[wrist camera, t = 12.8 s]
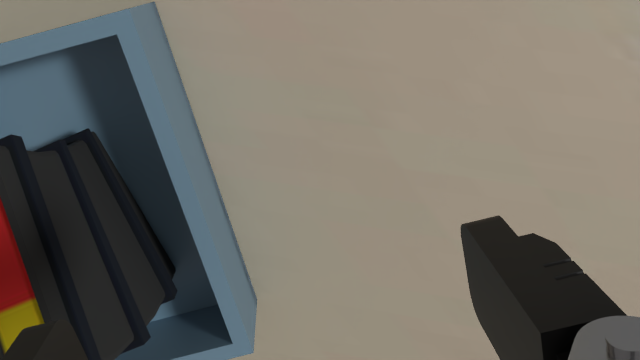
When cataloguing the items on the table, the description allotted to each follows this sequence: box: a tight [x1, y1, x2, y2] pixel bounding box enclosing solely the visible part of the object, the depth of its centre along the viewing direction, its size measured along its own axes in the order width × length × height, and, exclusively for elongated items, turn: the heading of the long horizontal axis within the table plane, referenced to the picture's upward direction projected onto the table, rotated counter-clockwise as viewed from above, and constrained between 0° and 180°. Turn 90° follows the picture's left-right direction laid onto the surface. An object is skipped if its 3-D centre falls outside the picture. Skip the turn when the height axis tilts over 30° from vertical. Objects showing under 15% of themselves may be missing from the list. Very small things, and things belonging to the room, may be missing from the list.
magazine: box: [0, 128, 178, 360], centre depth 31 cm, size 4×13×15 cm, turn 23°
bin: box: [0, 2, 257, 360], centre depth 34 cm, size 21×14×6 cm, turn 14°
